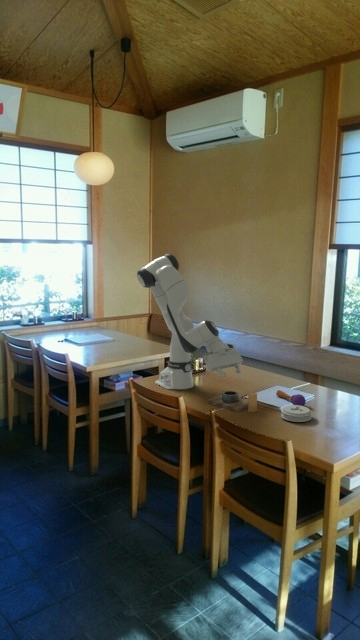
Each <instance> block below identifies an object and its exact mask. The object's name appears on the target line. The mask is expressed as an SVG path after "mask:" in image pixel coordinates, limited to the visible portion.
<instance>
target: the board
mask: <svg viewBox="0 0 360 640" xmlns="http://www.w3.org/2000/svg"><path fill="white" fill-rule="evenodd" d="M207 403H208V404H211V405H213V406H216V407H219V408H223V409H226V410H229V411H232V412H237V413H238V412H241V411H243V410H244V411H245V410H248V398H244V397H242V396H239V401H238V402H236V403H226V402H223V401H222V395H219V396H216V397H212V398H209V399H207Z"/></svg>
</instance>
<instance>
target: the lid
mask: <svg viewBox="0 0 360 640" xmlns="http://www.w3.org/2000/svg"><path fill="white" fill-rule="evenodd" d="M280 417H281V418H282V419H284V420H286V421H288V422H289V421H290V422H295V423H302V422H304V423H305V422H308V421H311V420H312V410H311V409H310V408H309V407H306V406H305V405H304V406H299V405H294V404H290V405H289V404H288V405H286V406H283V407H282V408H281V415H280Z"/></svg>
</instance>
